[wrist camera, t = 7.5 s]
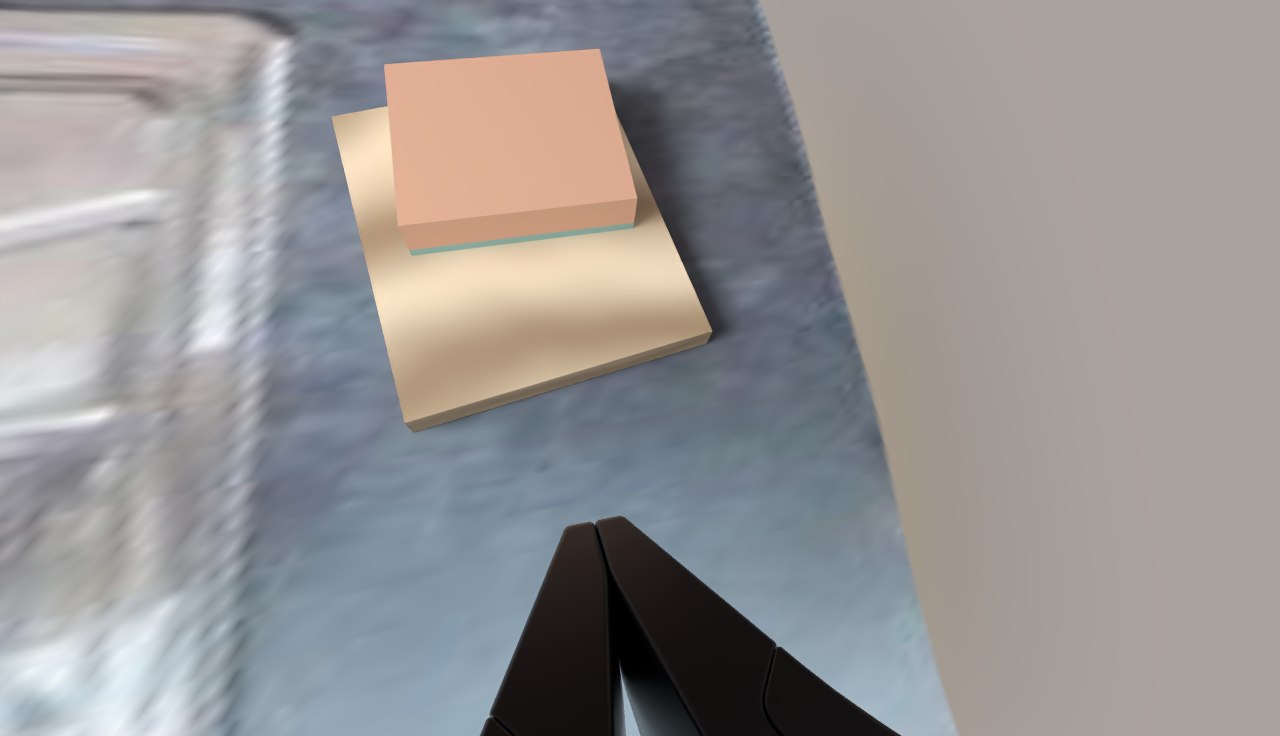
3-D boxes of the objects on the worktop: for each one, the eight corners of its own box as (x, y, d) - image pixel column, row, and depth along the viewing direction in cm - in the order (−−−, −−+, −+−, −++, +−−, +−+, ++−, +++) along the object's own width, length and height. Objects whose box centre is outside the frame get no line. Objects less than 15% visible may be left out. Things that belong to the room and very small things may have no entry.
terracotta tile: (637, 198, 24) (599, 48, 27) (397, 226, 22) (384, 64, 25) (633, 228, 26) (597, 85, 28) (411, 255, 24) (397, 102, 27)
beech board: (706, 343, 25) (712, 331, 24) (413, 432, 23) (405, 422, 22) (595, 87, 30) (595, 67, 29) (341, 137, 27) (331, 116, 26)
